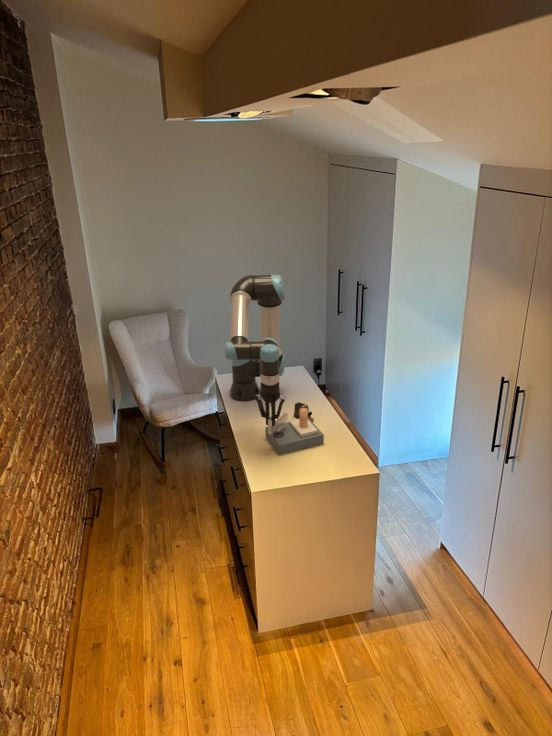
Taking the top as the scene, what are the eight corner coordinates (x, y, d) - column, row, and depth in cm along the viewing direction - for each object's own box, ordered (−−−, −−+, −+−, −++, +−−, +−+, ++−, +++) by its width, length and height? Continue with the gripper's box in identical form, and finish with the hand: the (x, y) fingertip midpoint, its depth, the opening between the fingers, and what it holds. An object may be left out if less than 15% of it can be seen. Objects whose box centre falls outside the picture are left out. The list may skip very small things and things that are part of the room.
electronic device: (307, 424, 254) (308, 410, 251) (293, 417, 260) (293, 403, 257) (314, 420, 257) (314, 406, 254) (299, 413, 263) (299, 400, 260)
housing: (265, 436, 245) (265, 426, 243) (307, 426, 252) (307, 417, 250) (279, 455, 231) (279, 445, 229) (323, 444, 239) (323, 434, 236)
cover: (289, 423, 245) (289, 405, 241) (305, 420, 247) (306, 401, 243) (300, 437, 235) (301, 418, 231) (317, 433, 237) (318, 414, 233)
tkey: (268, 440, 232) (267, 427, 229) (284, 425, 243) (284, 413, 240) (271, 441, 231) (271, 428, 228) (288, 426, 242) (288, 414, 239)
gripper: (252, 384, 219) (253, 434, 230) (283, 387, 217) (283, 437, 227) (256, 376, 226) (258, 425, 236) (287, 379, 223) (287, 428, 233)
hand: (270, 431), depth 231 cm, fingers closed
